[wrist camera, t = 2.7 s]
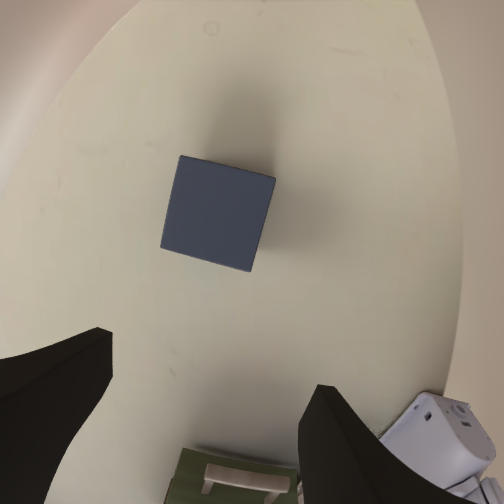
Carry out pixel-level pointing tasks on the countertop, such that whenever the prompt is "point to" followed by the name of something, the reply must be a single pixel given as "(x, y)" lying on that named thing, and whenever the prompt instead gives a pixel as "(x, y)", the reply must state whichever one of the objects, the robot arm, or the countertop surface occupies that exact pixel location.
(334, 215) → the countertop surface
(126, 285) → the countertop surface
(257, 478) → the drawer
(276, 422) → the countertop surface
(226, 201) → the block
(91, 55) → the countertop surface
